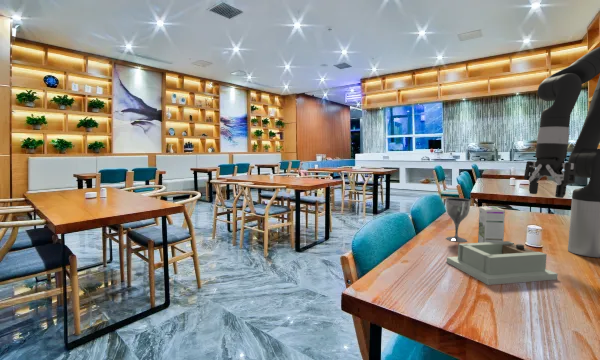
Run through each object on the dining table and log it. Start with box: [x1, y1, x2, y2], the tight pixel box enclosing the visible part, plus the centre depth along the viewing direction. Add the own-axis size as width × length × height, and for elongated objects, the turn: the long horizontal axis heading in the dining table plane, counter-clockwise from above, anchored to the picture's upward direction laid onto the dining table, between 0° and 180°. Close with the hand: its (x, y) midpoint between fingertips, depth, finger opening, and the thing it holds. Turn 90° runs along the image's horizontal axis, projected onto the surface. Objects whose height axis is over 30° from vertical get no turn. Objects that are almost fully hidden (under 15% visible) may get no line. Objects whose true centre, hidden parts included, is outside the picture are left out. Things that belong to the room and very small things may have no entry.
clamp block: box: [502, 243, 536, 254], centre depth 87 cm, size 4×7×5 cm, turn 10°
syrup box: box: [477, 206, 506, 243], centre depth 101 cm, size 6×6×14 cm
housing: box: [446, 240, 559, 286], centre depth 86 cm, size 20×16×6 cm
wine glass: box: [445, 197, 471, 243], centre depth 116 cm, size 8×8×15 cm
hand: (545, 195), depth 97 cm, fingers open, 8 cm apart
